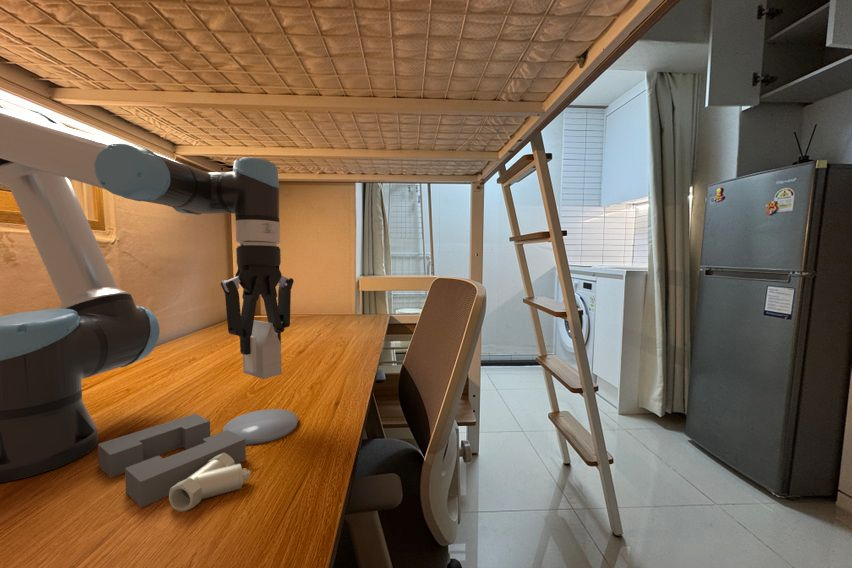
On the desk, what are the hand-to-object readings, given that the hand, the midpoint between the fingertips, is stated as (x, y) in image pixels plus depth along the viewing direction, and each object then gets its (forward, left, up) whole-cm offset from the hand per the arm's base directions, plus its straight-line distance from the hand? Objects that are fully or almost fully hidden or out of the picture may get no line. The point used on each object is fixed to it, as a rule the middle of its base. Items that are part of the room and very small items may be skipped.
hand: (261, 367), depth 69 cm
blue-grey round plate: (0, 0, -12) cm, 12 cm away
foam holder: (0, -15, -12) cm, 19 cm away
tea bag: (0, 0, -1) cm, 1 cm away
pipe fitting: (+13, -15, -12) cm, 23 cm away
